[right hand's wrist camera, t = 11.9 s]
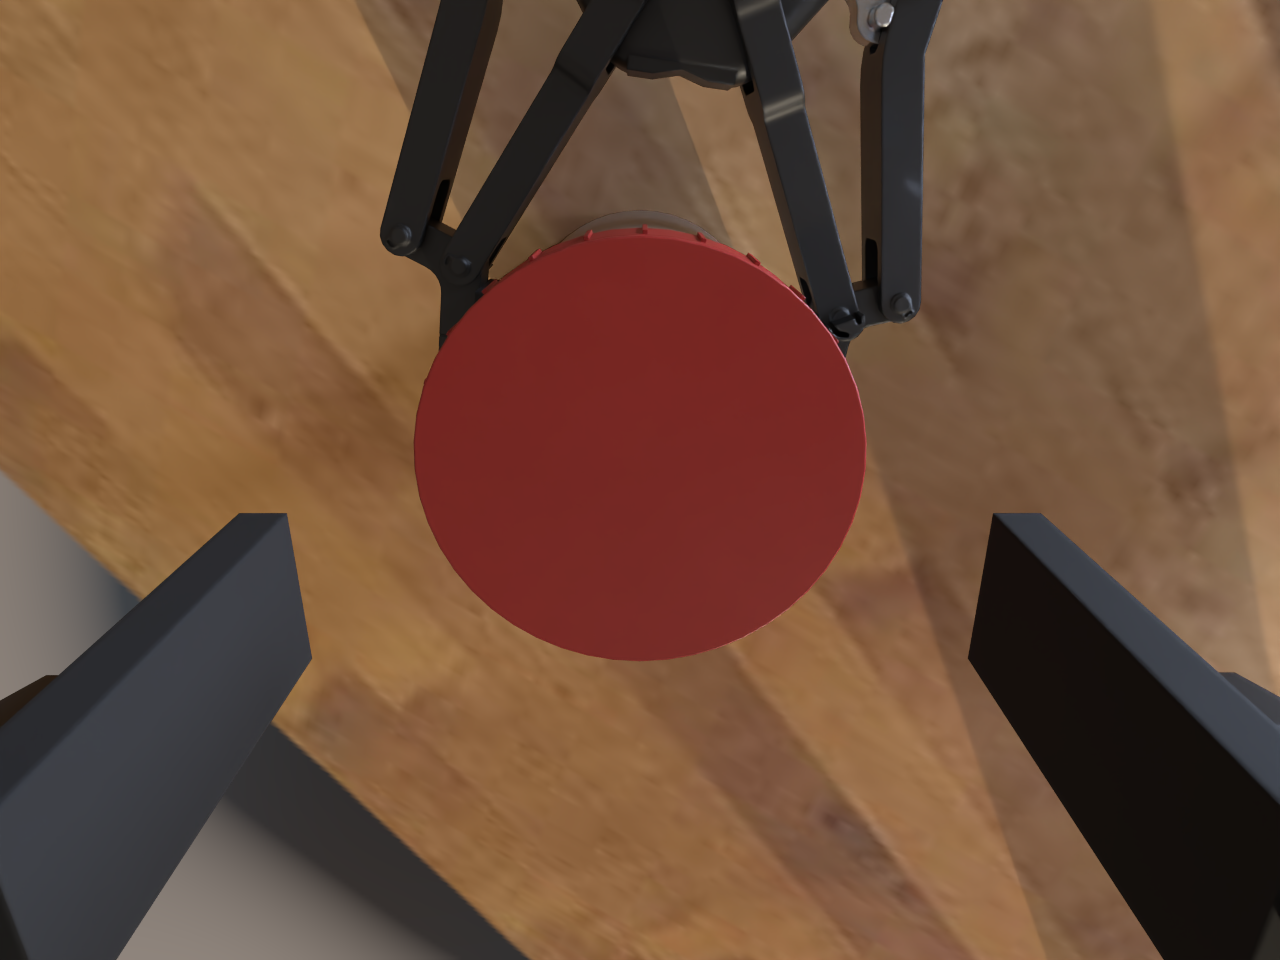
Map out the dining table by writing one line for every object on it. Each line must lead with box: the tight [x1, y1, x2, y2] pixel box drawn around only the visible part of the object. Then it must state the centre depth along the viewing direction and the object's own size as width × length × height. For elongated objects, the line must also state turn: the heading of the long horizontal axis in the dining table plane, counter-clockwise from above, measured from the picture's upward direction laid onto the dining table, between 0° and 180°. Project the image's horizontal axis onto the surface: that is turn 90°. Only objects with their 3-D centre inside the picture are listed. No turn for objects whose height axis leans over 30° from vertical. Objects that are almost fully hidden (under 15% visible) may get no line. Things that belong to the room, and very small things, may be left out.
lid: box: [414, 224, 866, 661], centre depth 19 cm, size 10×10×2 cm
